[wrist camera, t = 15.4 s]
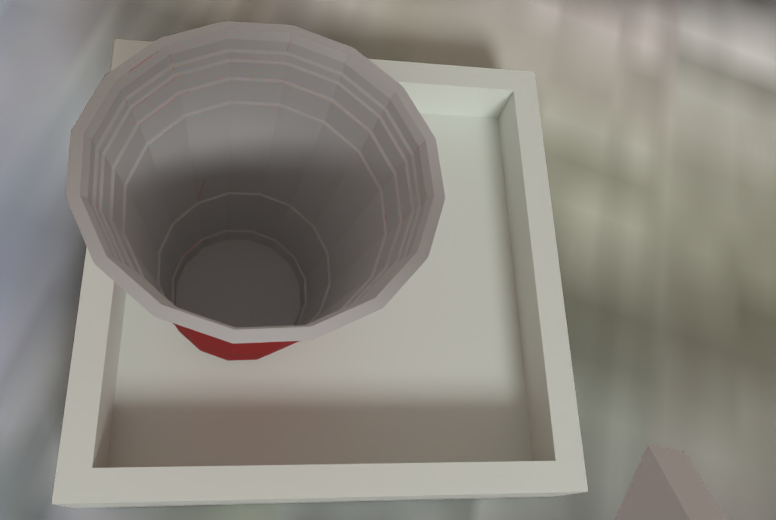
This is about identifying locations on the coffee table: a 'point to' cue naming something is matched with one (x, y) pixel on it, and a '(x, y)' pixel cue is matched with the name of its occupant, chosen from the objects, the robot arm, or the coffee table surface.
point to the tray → (358, 355)
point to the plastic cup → (254, 185)
